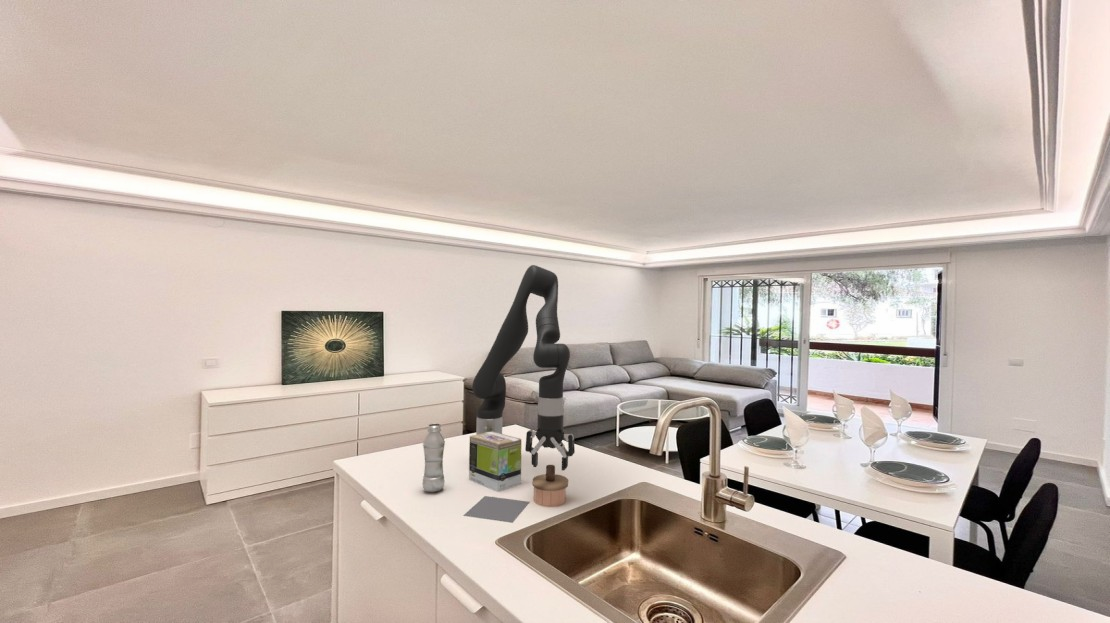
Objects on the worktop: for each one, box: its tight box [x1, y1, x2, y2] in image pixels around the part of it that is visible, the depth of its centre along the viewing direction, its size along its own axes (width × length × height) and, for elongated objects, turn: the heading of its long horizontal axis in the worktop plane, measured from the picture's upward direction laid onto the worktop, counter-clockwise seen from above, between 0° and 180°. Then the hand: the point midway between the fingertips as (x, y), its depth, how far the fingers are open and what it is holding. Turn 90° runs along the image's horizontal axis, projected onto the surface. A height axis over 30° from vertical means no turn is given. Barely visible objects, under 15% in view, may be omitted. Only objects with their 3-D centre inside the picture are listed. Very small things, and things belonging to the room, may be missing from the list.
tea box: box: [468, 431, 522, 492], centre depth 150 cm, size 15×10×15 cm
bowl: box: [533, 486, 567, 507], centre depth 135 cm, size 9×9×5 cm
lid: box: [532, 464, 569, 491], centre depth 136 cm, size 10×10×5 cm
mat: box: [462, 495, 531, 524], centre depth 129 cm, size 14×14×1 cm
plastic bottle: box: [421, 423, 446, 493], centre depth 142 cm, size 6×7×20 cm
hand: (549, 468), depth 135 cm, fingers open, 8 cm apart
